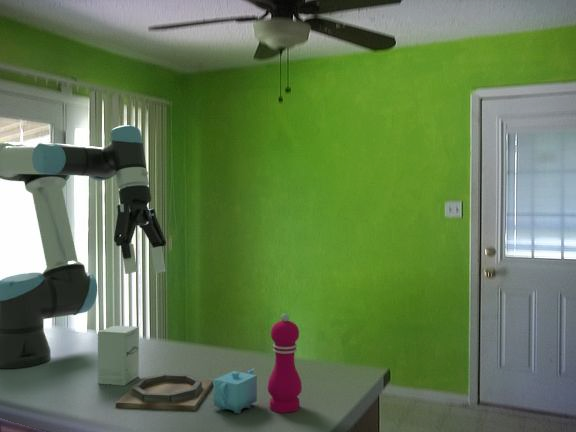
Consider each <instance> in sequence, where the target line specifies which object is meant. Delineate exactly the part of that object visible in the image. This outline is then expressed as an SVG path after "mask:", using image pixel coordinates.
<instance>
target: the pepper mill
mask: <svg viewBox="0 0 576 432" xmlns="http://www.w3.org/2000/svg"><path fill="white" fill-rule="evenodd" d="M299 336H300V330H299V327H298V325H297V324H296V323H295V322H293V321H290V316H289V314H287V313H282V314H281V315H280V320H279V321H277V322H275V323H274V324H273V325H272V328H271V329H270V337H271V340H272V341H273V342H274V343H273V344H272V346H273V347H272V348H273V349H272V351H273V352H274V355H275V359H274V360H275V363H274V367H273V370H272V371H271V374H270V376H269V379H268V382H267V391H268V394H269V395H270V396H271V397H270V399H269V409H270V410H271V411H272V412H275V413H281V414H290V413H289V412H291V413H294V411H295V412H296V411H298V410H299V409H300V398H299V395H300V394H301V392H302V389H303V387H302V386H303V385H302V381H301V377H300V374H299V372H298V370H297V368H296V365H295V353H296V352H297V351H298V350H297V341H298V340H299V338H300V337H299Z"/></svg>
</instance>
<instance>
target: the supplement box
mask: <svg viewBox="0 0 576 432" xmlns="http://www.w3.org/2000/svg"><path fill="white" fill-rule="evenodd" d="M139 328H140V327H139V326H130V325H112V326H109V327H107V328H104V329H101V330H100V331H98V332H97V384H99V385H100V384H102V385H110V384H111V385H113V386H126V385H127V384H128V383H130V382H131V381H133V380H135V379H137V378H138V377H139V370H140V368H139V367H140V360H139V359H140V358H139V357H140V356H139V354H140V341H139V340H140V329H139Z"/></svg>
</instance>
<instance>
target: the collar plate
mask: <svg viewBox="0 0 576 432" xmlns="http://www.w3.org/2000/svg"><path fill="white" fill-rule="evenodd" d="M212 386H214V379H200V378H198V377H195V376H193V375H191V374H187V373H186V374H183V373H181V374H179V373H175V374H174V373H162V374H158V375H152V376H147V377H143V378H140V379H139V380H138V381H136V382H135V384H133V385H132V386H131V388H130V389H129V390H128V391H127V392H126V393H125V394H124V395H123V396H122V397H120V398H119V399H118V400H117V401H116V402H115V408H122V409H124V408H125V409H126V408H128V409H149V410H172V411H173V410H177V411H178V410H179V411H196V409H197V408H198V406H199V405H200V403H202V401H203V399H204V398H205V397H206V395H207V394H208V392H209V391H210V389H211V388H212Z"/></svg>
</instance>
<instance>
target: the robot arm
mask: <svg viewBox="0 0 576 432" xmlns="http://www.w3.org/2000/svg"><path fill="white" fill-rule="evenodd" d="M109 135H110V139H109V140H110V143H109V144H107V145H105V146H104V147H99V146H87V145H75V144H65V143H56V142H40V143H30V142H18V141H3V142H0V179H1V180H4V181H9V182H10V181H11V182H24V186H25V190H26V191H27V192H28V193H30V194H32V200H33V204H34V208H35V210H34V211H35V214H36V220H37V225H38V229H39V234H40V239H41V244H42V248H43V249H42V250H43V253H44V260H45V266H46V267H45V269H44V271H43V272H42V273H41V272H27V273H19V274H15V275H10V276H6V277H4V278H2V279H1V280H0V369H20V368H21V369H22V368H27V367H33V366H37V365H41V364H43V363H46V362H48V361H49V360H51V358H52V357H51V356H52V355H51V353H52V352H51V347H50V345H49V342H48V340H47V336H46V333H45V329H44V323H45V322H44V320H46V319H55V318H60V317H67V316H76V315H78V314H83V313H86V312H88V311H90V310H91V309H92V308H93V307H94V305H95V302H96V299H97V296H98V282H97V279H96V277H95V276H94V274H93V273H91V272H86V267H85V265H84V264H83V263H81V262H80V261H79V260H78V255H77V252H76V246H75V242H74V237H73V233H72V228H71V224H70V219H69V213H68V210H67V204H66V199H65V196H64V190H63V189H64V188H65V186H66V185H67V181H68V180H69V178H70V177H71V176H82V177H83V176H84V177H90V179H92V180H95V181H97V182H99V181H100V182H101V181H107V180H109V179H111V178H113V177H116V184H117V189H118V197H119V203H120V204H117V207H116V208H117V217H116V223H115V229H114V236H113V241H114V243H115V245H116V246H117V247H121V254H122V261H123V266H124V274H126V275H127V274H132V273H137V272H138V267H137V261H136V260H137V259H136V254H135V246H134V243H131V242H132V240H133V237H134V234H135V231H136V228H137V226H138V227H139V228H140V229H142V231H143V232H144V234H145V235H146V237H147V239H148V241H149V243H150V245H151V246H152V247H151V248H150V251H151V257H152V263H153V264H152V265H153V271H154V274H159V273H165V272H166V264H165V258H164V251H163V247H165V246H166V245H167V244H166V243H167V241H166V238H165V235H164V233H163V231H162V228H161V225H160V223H159V221H158V217H157V214H156V209H155V208H150V209H149V207H148V205H149V203H151V202H152V195H151V188H150V187H149V184H150V182H149V176H148V175H149V171H147V163H146V156H145V147H144V141H143V136H142V133H141V130H140V129H139V128H138V127H136V126H134V125H120V126H116V127H114V128H112V129H111V131H110V134H109Z"/></svg>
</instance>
